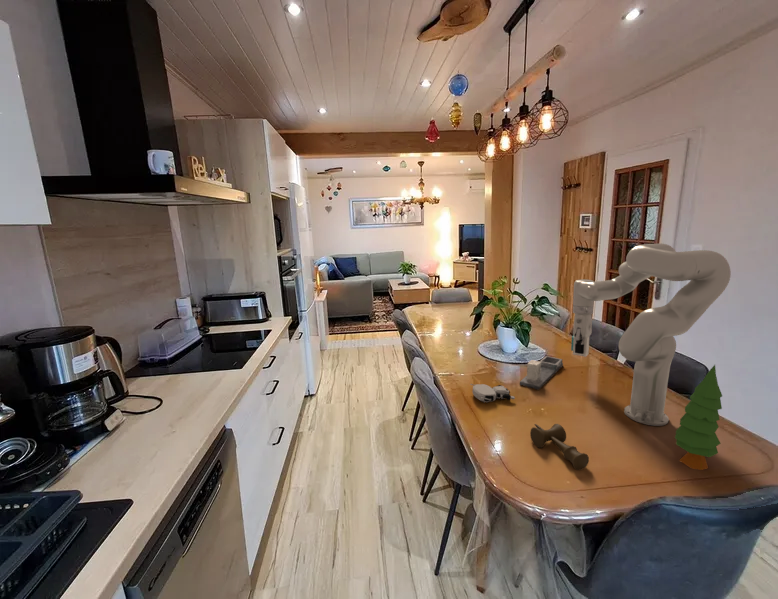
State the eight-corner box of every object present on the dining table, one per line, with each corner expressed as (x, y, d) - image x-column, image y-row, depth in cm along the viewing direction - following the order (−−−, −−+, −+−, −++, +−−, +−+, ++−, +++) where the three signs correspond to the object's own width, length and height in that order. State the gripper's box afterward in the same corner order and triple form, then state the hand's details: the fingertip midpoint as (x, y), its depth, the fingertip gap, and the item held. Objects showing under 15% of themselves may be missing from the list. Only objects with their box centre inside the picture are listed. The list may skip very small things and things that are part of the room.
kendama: (567, 476, 97) (521, 434, 115) (595, 469, 99) (546, 429, 118) (570, 457, 95) (523, 418, 114) (598, 450, 98) (547, 413, 117)
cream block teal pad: (585, 356, 145) (586, 338, 144) (570, 354, 149) (571, 336, 148) (588, 354, 148) (589, 335, 147) (573, 351, 152) (574, 333, 151)
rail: (538, 389, 145) (539, 368, 143) (519, 384, 151) (520, 364, 149) (562, 365, 168) (564, 347, 166) (545, 362, 174) (546, 343, 172)
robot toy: (502, 391, 147) (468, 392, 145) (503, 381, 146) (468, 382, 145) (516, 405, 135) (479, 407, 134) (517, 395, 135) (480, 396, 133)
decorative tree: (722, 476, 93) (740, 371, 87) (680, 471, 96) (695, 368, 90) (701, 454, 102) (716, 357, 96) (663, 449, 105) (676, 355, 99)
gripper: (587, 314, 136) (585, 359, 140) (598, 306, 149) (595, 348, 152) (567, 312, 142) (565, 355, 145) (578, 305, 154) (576, 345, 157)
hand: (580, 351), depth 148 cm, fingers closed on cream block teal pad, 4 cm apart
